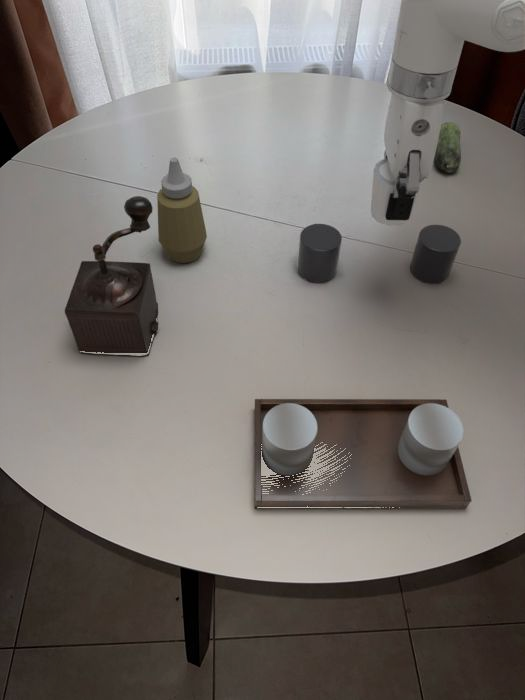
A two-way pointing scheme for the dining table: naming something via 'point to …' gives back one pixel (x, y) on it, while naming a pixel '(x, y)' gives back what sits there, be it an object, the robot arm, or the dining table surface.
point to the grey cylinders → (426, 264)
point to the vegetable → (448, 148)
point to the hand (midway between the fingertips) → (393, 200)
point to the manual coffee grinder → (115, 296)
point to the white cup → (386, 192)
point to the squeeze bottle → (180, 216)
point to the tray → (361, 453)
